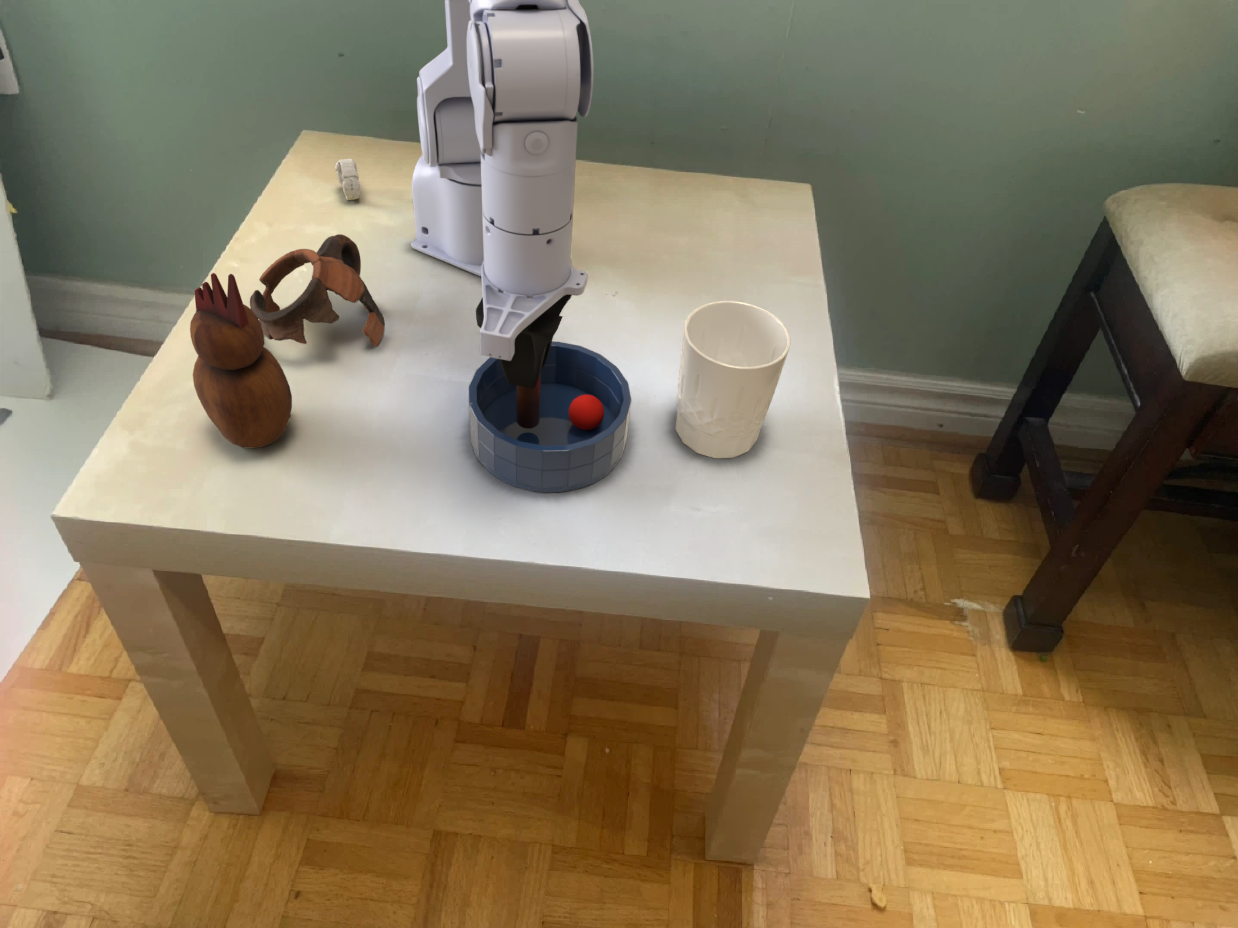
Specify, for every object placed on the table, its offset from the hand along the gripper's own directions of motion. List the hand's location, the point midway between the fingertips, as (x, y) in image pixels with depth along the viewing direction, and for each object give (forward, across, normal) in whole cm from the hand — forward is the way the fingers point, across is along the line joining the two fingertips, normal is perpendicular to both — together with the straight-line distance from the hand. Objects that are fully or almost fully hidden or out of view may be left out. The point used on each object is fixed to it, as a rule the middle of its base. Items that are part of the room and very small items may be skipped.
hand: (526, 373), depth 68 cm
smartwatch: (+7, +28, +26) cm, 39 cm away
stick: (+5, 0, 0) cm, 5 cm away
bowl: (+6, 0, -2) cm, 7 cm away
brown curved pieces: (+7, +8, +20) cm, 23 cm away
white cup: (+7, +5, -15) cm, 17 cm away
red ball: (+5, +2, -4) cm, 7 cm away
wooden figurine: (+7, -5, +20) cm, 22 cm away
